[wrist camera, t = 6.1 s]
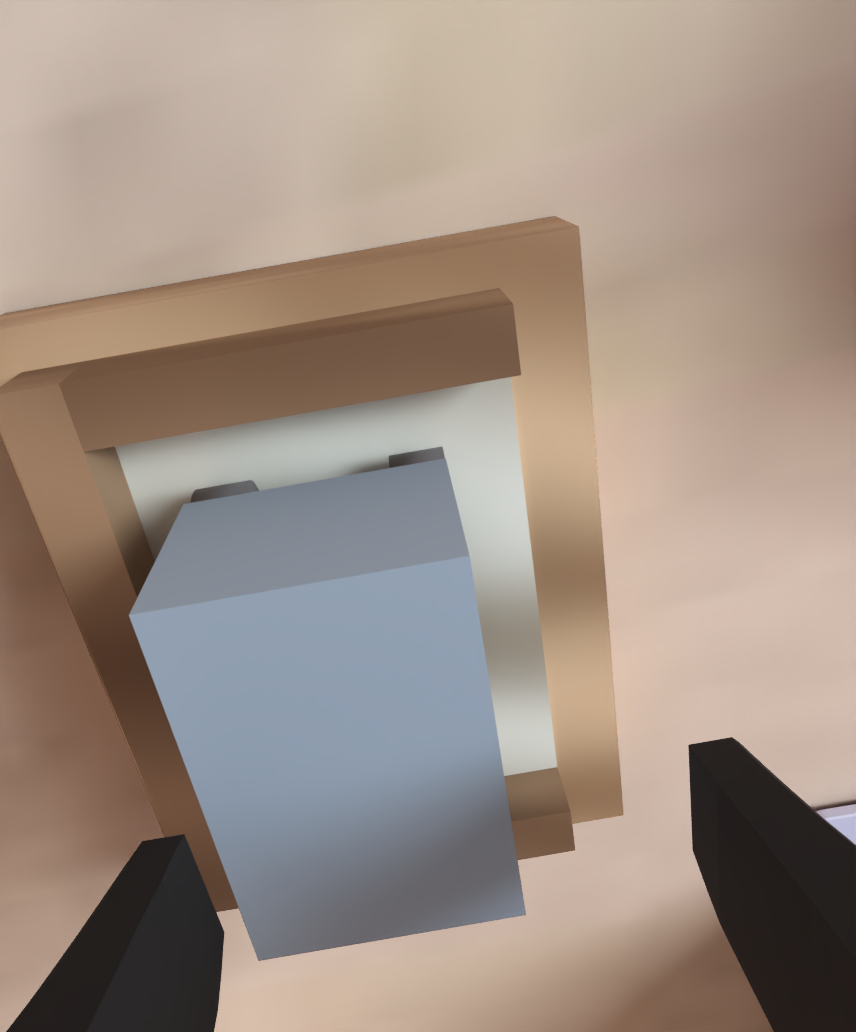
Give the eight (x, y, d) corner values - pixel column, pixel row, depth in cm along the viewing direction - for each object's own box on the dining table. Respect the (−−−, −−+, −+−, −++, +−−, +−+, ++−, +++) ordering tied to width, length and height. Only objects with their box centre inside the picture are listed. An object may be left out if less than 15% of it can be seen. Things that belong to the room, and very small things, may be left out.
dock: (602, 759, 22) (641, 863, 19) (201, 828, 22) (174, 944, 19) (554, 216, 16) (600, 236, 13) (4, 313, 16) (-83, 357, 13)
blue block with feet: (485, 716, 19) (525, 914, 14) (285, 751, 19) (258, 960, 14) (438, 428, 16) (469, 555, 11) (200, 469, 16) (128, 615, 11)
